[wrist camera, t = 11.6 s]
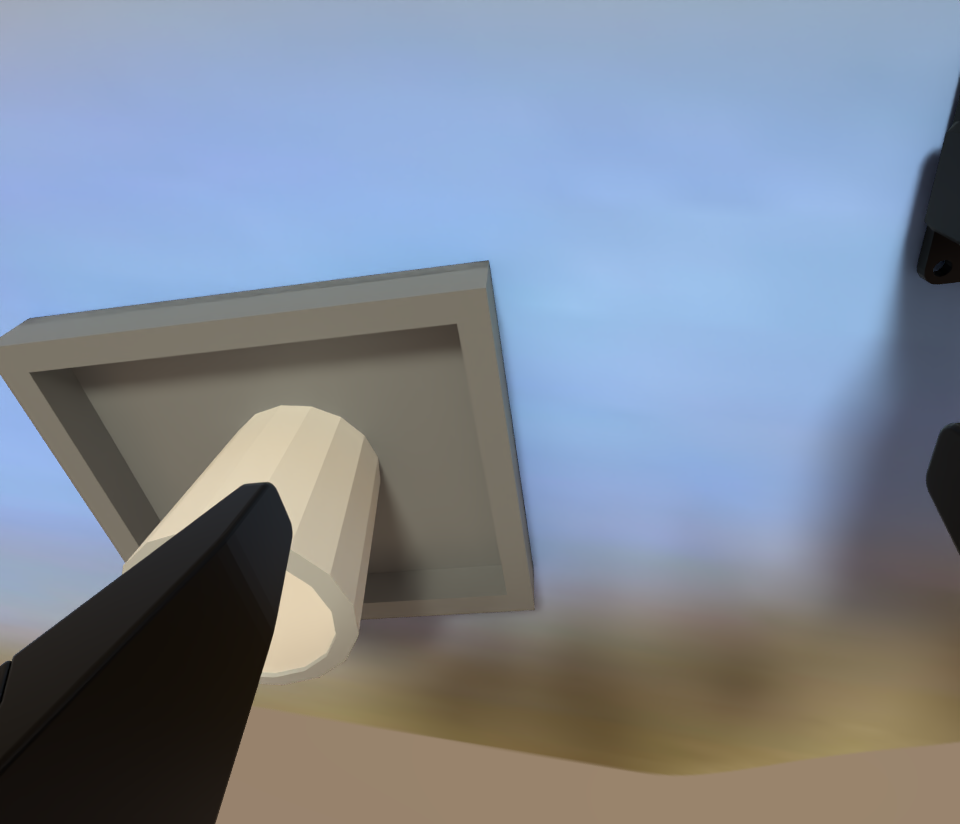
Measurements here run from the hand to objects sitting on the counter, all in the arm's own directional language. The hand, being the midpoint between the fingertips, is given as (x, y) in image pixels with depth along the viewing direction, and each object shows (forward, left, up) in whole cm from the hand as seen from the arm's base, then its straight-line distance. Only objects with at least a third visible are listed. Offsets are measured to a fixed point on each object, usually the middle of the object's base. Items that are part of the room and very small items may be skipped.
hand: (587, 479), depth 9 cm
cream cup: (+10, +8, -12) cm, 17 cm away
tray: (+10, +8, -12) cm, 18 cm away
